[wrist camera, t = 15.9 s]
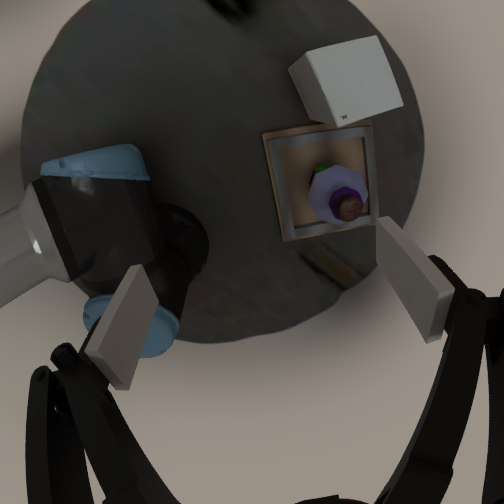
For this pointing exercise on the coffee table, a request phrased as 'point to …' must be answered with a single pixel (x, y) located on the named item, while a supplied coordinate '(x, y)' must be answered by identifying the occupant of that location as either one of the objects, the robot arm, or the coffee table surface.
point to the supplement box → (345, 82)
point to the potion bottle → (336, 193)
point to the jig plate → (307, 160)
